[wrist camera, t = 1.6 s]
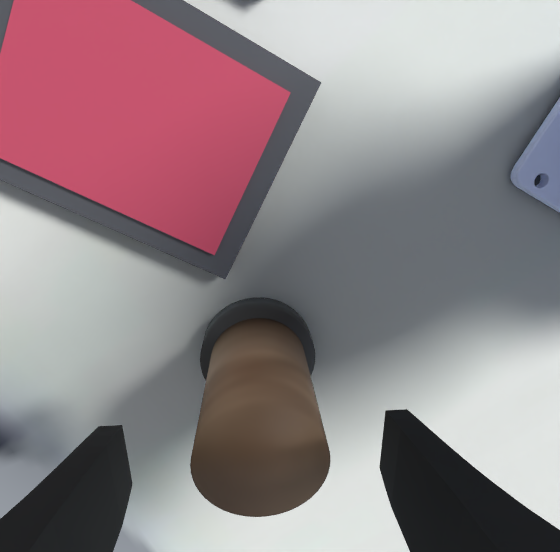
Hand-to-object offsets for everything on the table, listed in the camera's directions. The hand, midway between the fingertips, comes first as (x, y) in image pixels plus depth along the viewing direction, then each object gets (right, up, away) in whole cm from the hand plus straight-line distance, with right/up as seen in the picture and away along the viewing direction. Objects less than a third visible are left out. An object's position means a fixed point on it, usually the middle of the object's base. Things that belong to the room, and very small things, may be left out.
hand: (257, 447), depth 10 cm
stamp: (0, +2, +5) cm, 5 cm away
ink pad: (-4, +10, +2) cm, 11 cm away
